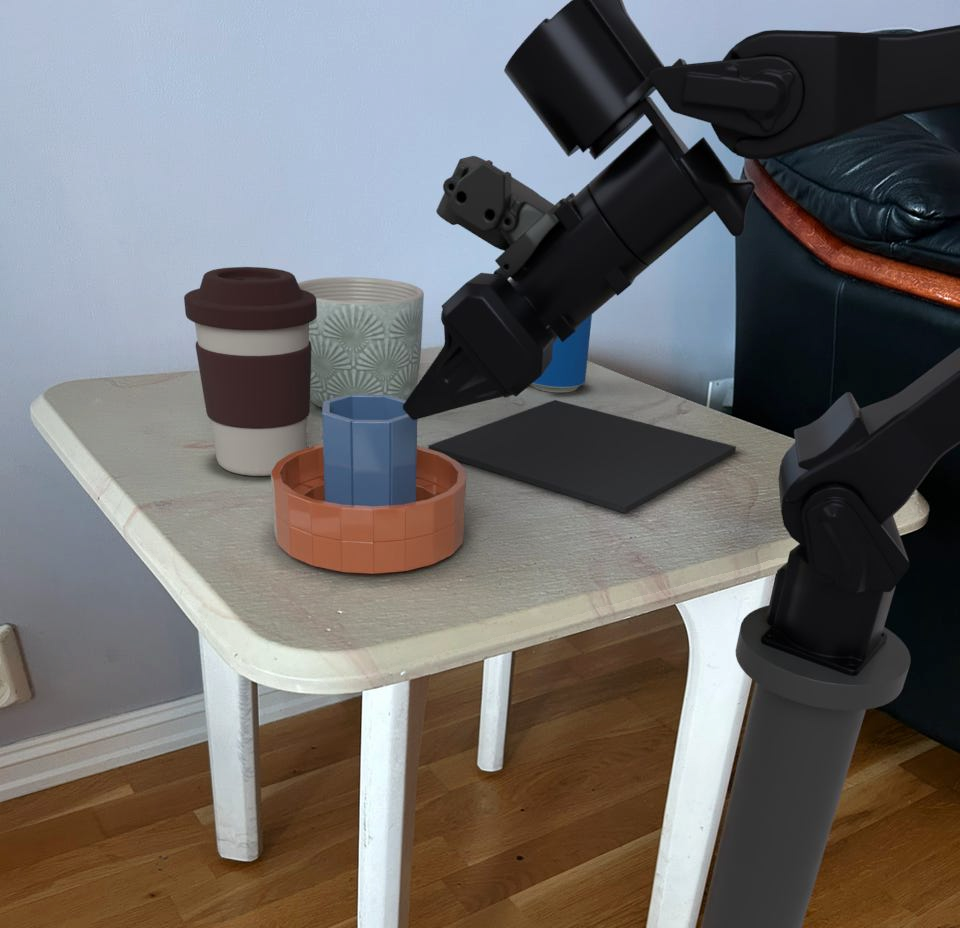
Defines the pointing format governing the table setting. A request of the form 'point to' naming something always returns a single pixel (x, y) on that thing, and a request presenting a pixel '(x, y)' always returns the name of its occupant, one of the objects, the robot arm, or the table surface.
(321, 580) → the table surface
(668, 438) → the mat
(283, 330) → the coffee cup
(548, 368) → the beverage can
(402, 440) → the blue cup
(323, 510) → the bowl
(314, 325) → the planter
